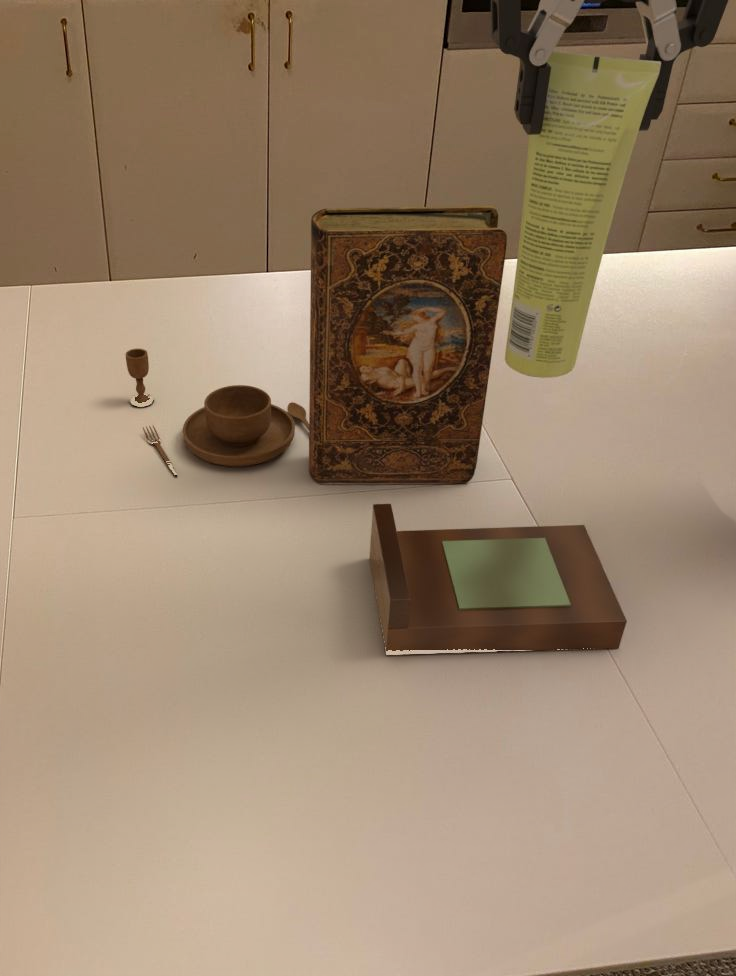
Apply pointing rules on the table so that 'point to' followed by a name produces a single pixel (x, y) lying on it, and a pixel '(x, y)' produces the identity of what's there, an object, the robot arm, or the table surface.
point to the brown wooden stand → (491, 588)
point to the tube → (572, 202)
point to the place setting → (229, 422)
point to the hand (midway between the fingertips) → (584, 128)
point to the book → (401, 341)
